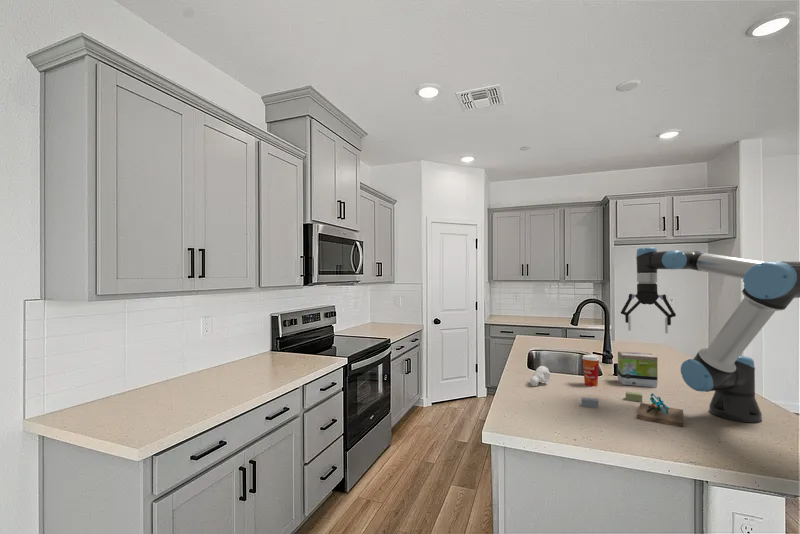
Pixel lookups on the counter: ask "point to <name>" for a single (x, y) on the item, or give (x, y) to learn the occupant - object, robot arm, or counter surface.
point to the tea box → (637, 369)
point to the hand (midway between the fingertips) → (647, 331)
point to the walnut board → (661, 415)
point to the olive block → (634, 396)
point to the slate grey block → (589, 402)
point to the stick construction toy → (657, 404)
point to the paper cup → (590, 369)
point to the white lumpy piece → (540, 376)
